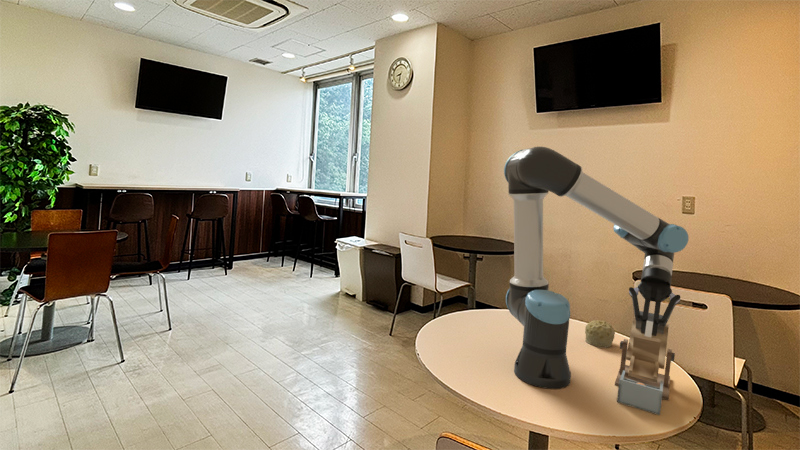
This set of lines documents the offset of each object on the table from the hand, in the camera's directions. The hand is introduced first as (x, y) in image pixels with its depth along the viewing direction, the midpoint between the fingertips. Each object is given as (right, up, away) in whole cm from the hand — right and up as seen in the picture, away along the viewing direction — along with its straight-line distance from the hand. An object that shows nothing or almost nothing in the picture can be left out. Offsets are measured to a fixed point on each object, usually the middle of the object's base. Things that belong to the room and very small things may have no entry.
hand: (646, 344), depth 108 cm
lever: (+3, -3, +5) cm, 7 cm away
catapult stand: (+2, -12, +5) cm, 13 cm away
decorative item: (+3, -9, +33) cm, 34 cm away
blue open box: (-5, -13, -6) cm, 15 cm away
